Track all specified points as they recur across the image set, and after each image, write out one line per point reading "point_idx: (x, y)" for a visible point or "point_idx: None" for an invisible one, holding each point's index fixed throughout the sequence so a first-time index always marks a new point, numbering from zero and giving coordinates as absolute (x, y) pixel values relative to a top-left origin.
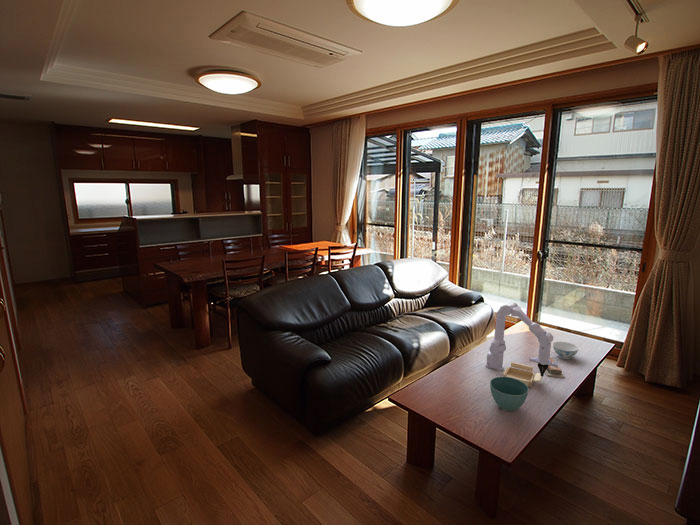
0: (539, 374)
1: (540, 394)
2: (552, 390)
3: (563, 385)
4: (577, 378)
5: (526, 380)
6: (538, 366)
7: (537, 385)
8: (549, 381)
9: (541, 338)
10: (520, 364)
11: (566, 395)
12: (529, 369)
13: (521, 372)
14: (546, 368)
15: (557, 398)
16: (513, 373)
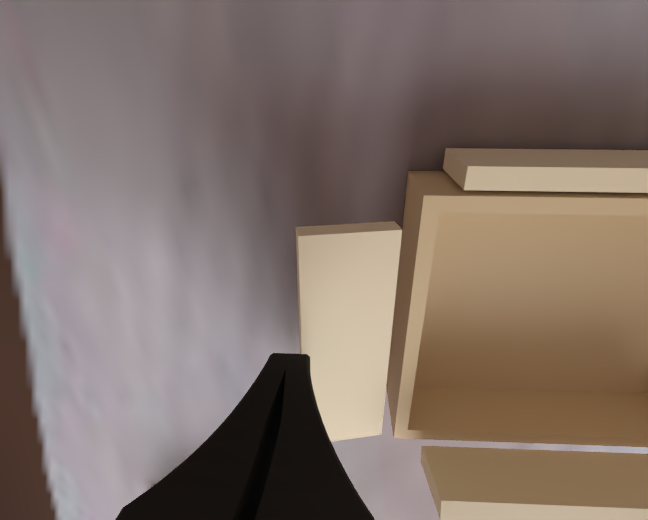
0: (335, 413)
1: (269, 11)
2: (169, 222)
3: (117, 375)
4: (77, 511)
5: (503, 195)
6: (356, 517)
7: None
8: (244, 388)
9: None
10: (619, 514)
11: (8, 186)
12: (466, 466)
13: (533, 409)
14: (143, 503)
15: (50, 29)
16: (611, 374)
